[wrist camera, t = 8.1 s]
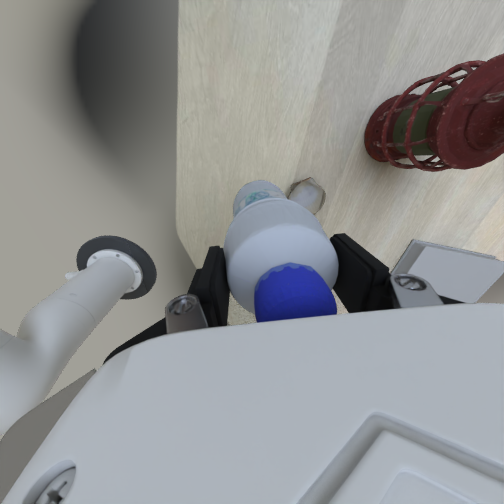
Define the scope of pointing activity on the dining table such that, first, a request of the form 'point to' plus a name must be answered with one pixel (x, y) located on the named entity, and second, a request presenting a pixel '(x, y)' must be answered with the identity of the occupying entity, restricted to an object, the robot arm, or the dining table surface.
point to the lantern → (443, 120)
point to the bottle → (278, 257)
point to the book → (451, 269)
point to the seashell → (308, 195)
